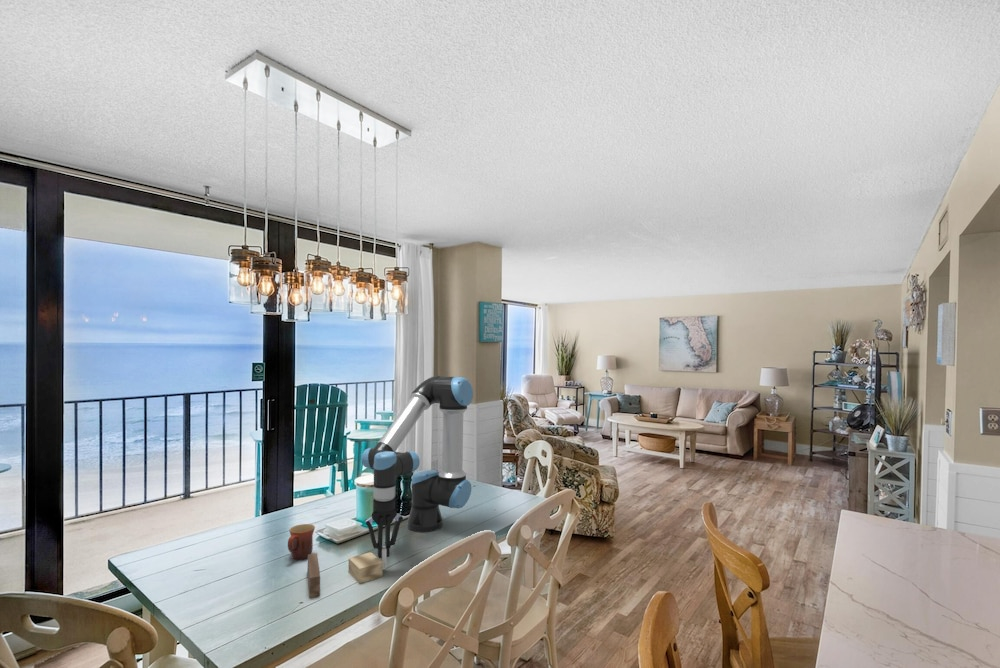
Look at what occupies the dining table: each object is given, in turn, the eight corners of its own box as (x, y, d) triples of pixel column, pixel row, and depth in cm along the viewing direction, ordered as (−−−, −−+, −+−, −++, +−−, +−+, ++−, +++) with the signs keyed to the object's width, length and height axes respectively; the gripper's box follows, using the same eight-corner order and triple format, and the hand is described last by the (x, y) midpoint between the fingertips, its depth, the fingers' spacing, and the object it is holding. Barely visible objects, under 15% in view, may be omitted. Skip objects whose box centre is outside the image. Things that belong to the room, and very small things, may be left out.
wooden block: (316, 570, 166) (317, 553, 166) (319, 595, 149) (320, 576, 149) (307, 572, 165) (307, 554, 165) (309, 597, 148) (309, 578, 148)
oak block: (370, 566, 170) (370, 552, 170) (382, 577, 162) (382, 562, 162) (348, 572, 165) (348, 558, 165) (359, 584, 157) (359, 568, 157)
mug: (298, 550, 182) (298, 523, 182) (319, 552, 180) (319, 525, 180) (277, 564, 170) (278, 535, 170) (299, 567, 168) (300, 537, 169)
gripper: (400, 492, 173) (399, 559, 172) (363, 496, 167) (362, 565, 167) (405, 498, 166) (404, 567, 165) (366, 503, 160) (365, 574, 160)
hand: (383, 566), depth 166 cm, fingers closed
